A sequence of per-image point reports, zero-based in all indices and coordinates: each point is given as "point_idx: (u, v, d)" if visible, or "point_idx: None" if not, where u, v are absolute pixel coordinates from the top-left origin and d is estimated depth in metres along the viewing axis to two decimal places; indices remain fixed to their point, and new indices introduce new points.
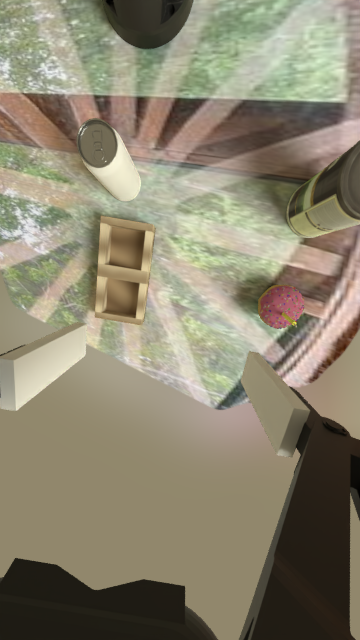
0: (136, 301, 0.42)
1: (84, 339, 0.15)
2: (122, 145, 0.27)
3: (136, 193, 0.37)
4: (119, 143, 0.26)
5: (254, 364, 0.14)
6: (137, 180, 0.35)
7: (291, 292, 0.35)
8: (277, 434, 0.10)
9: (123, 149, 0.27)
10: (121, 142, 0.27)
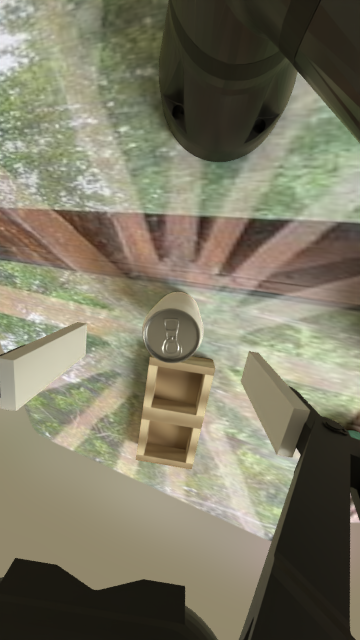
0: (184, 435, 0.35)
1: (84, 339, 0.15)
2: (202, 328, 0.20)
3: None
4: (200, 331, 0.19)
5: (254, 364, 0.14)
6: None
7: None
8: (277, 434, 0.10)
9: (202, 332, 0.20)
10: (201, 326, 0.19)
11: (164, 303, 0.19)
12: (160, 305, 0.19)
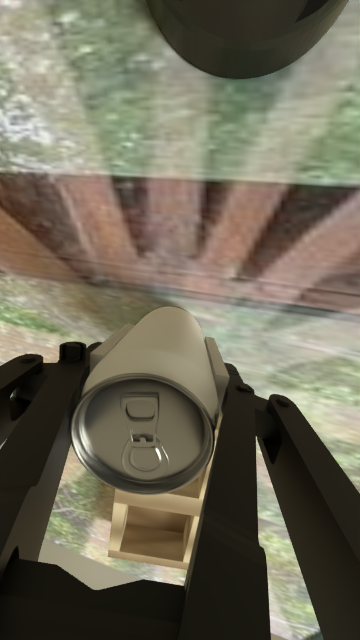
0: (180, 514, 0.24)
1: None
2: (217, 407, 0.08)
3: None
4: (213, 418, 0.08)
5: (206, 346, 0.15)
6: None
7: None
8: None
9: (218, 413, 0.09)
10: (215, 403, 0.08)
11: (127, 351, 0.08)
12: (117, 356, 0.08)
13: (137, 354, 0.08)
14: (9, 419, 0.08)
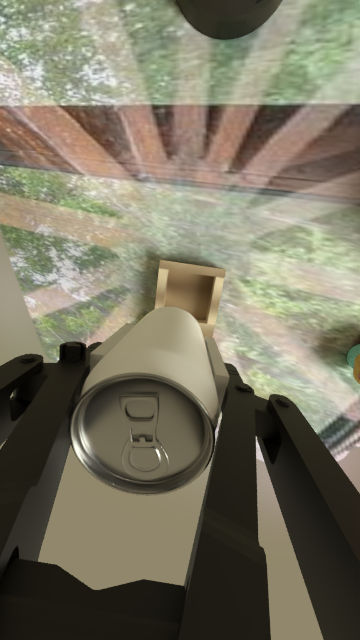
0: None
1: None
2: (217, 407, 0.08)
3: None
4: (213, 418, 0.08)
5: (206, 346, 0.15)
6: None
7: None
8: None
9: (218, 413, 0.09)
10: (215, 403, 0.08)
11: (127, 350, 0.08)
12: (117, 356, 0.08)
13: (137, 354, 0.08)
14: (9, 419, 0.08)
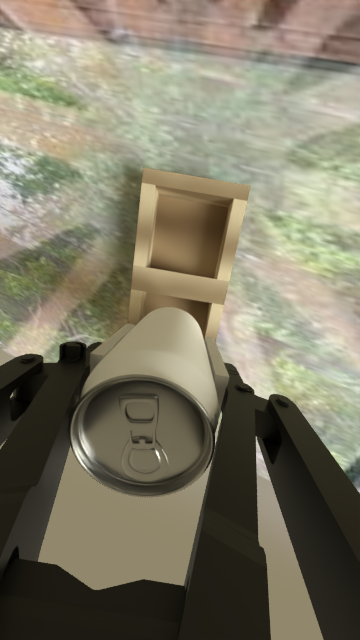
0: None
1: None
2: (217, 408, 0.08)
3: None
4: (213, 419, 0.08)
5: (206, 346, 0.15)
6: None
7: None
8: None
9: (218, 415, 0.09)
10: (215, 404, 0.08)
11: (127, 352, 0.08)
12: (116, 357, 0.08)
13: (136, 355, 0.08)
14: (9, 419, 0.08)
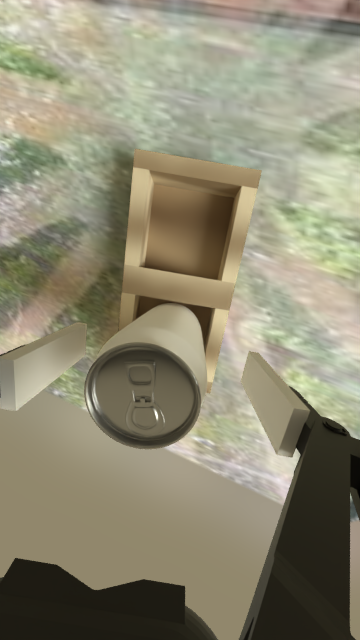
0: None
1: (84, 339, 0.15)
2: (205, 377, 0.10)
3: None
4: (201, 384, 0.10)
5: (254, 364, 0.14)
6: None
7: None
8: (277, 434, 0.10)
9: (206, 383, 0.10)
10: (203, 373, 0.10)
11: (130, 329, 0.10)
12: (122, 333, 0.10)
13: (138, 331, 0.10)
14: None
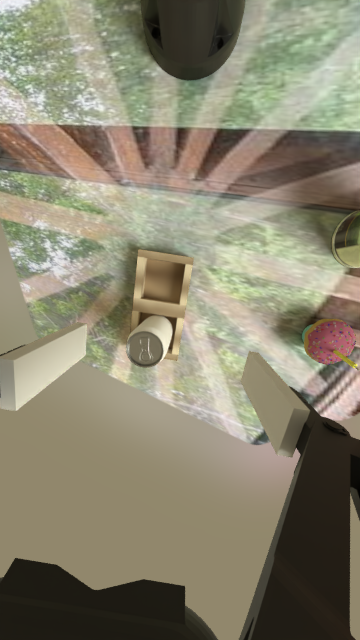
0: None
1: (84, 339, 0.15)
2: (166, 343, 0.29)
3: None
4: (164, 344, 0.29)
5: (254, 364, 0.14)
6: (171, 336, 0.37)
7: (343, 328, 0.33)
8: (277, 434, 0.10)
9: (167, 345, 0.29)
10: (165, 341, 0.29)
11: (140, 327, 0.29)
12: (137, 329, 0.29)
13: (142, 328, 0.29)
14: None
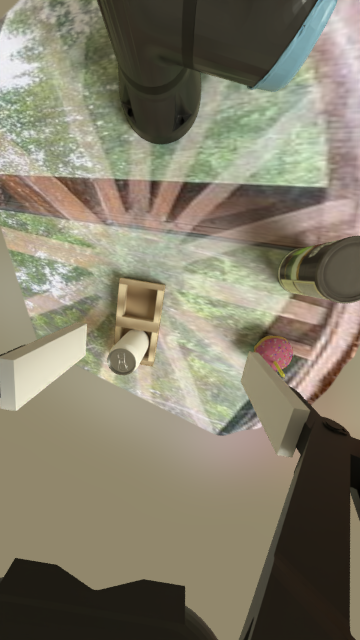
0: None
1: (84, 339, 0.15)
2: (138, 356, 0.38)
3: None
4: (136, 358, 0.37)
5: (254, 364, 0.14)
6: (147, 347, 0.46)
7: (281, 345, 0.41)
8: (277, 434, 0.10)
9: (139, 358, 0.38)
10: (138, 355, 0.38)
11: (118, 344, 0.38)
12: (116, 345, 0.37)
13: (120, 345, 0.37)
14: None
